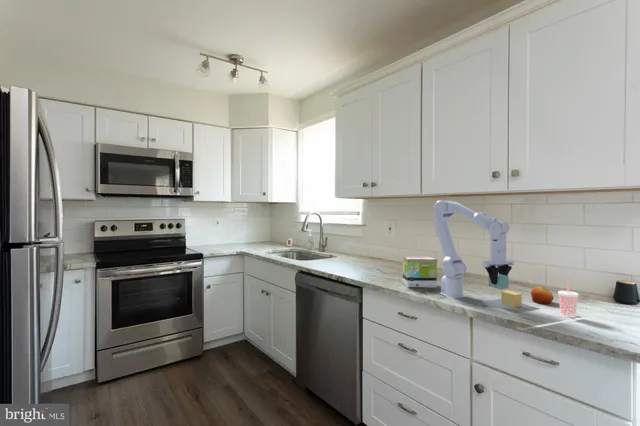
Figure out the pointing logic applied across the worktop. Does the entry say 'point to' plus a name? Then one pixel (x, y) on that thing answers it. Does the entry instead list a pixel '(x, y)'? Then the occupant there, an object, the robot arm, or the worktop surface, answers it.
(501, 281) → the teal brick
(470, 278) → the worktop surface
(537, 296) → the fruit
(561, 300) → the beverage cup
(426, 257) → the tea box
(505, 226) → the robot arm
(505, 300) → the mustard brick
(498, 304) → the baseplate
